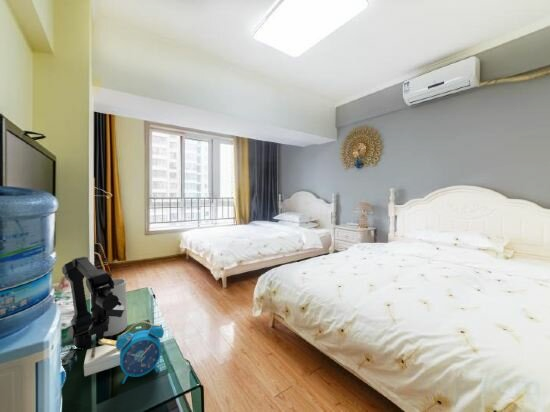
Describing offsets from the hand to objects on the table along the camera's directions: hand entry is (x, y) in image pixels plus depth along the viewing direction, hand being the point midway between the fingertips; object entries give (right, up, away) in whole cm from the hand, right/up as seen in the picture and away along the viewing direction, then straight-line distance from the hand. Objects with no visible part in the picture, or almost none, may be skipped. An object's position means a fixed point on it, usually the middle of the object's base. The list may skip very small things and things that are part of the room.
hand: (101, 338), depth 101 cm
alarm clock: (+20, -11, -4) cm, 23 cm away
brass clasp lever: (+3, -3, +2) cm, 5 cm away
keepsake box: (+2, -11, +2) cm, 11 cm away
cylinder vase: (-12, -9, +25) cm, 29 cm away
